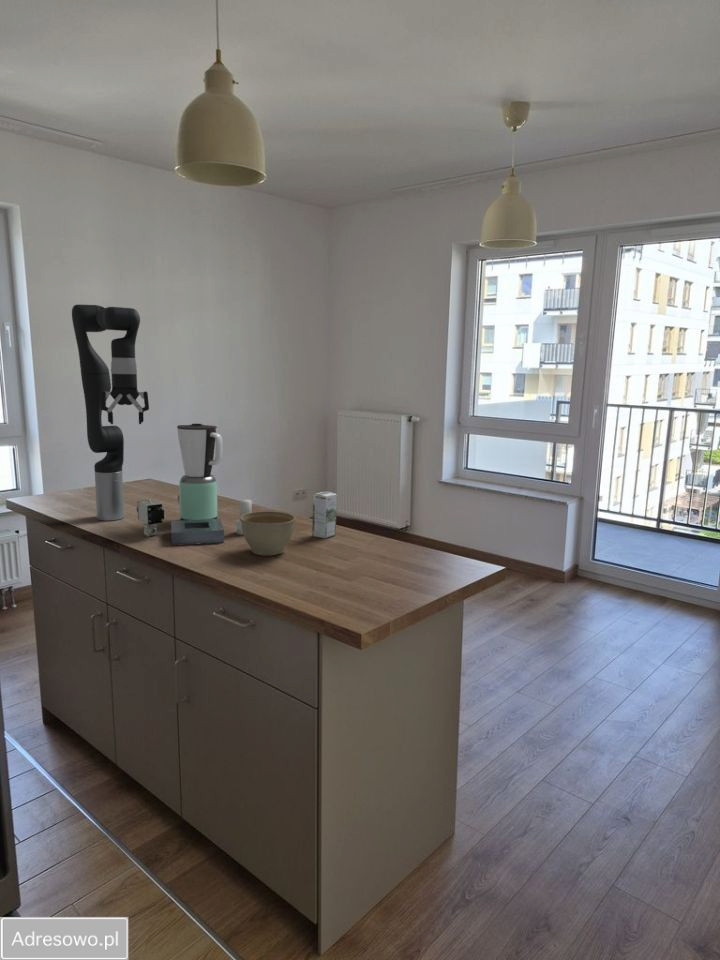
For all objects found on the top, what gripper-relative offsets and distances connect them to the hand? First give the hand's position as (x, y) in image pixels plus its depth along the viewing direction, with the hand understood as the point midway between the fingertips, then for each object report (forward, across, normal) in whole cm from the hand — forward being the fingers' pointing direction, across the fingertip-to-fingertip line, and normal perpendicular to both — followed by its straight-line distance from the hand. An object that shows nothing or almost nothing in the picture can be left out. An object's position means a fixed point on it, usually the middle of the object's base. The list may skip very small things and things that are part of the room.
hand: (126, 424), depth 205 cm
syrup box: (+36, -62, +15) cm, 73 cm away
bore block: (+36, -21, +9) cm, 43 cm away
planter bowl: (+36, -41, +30) cm, 62 cm away
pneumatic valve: (+36, -7, +3) cm, 37 cm away
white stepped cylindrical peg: (+36, -37, +6) cm, 52 cm away
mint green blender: (+36, -23, -12) cm, 45 cm away
